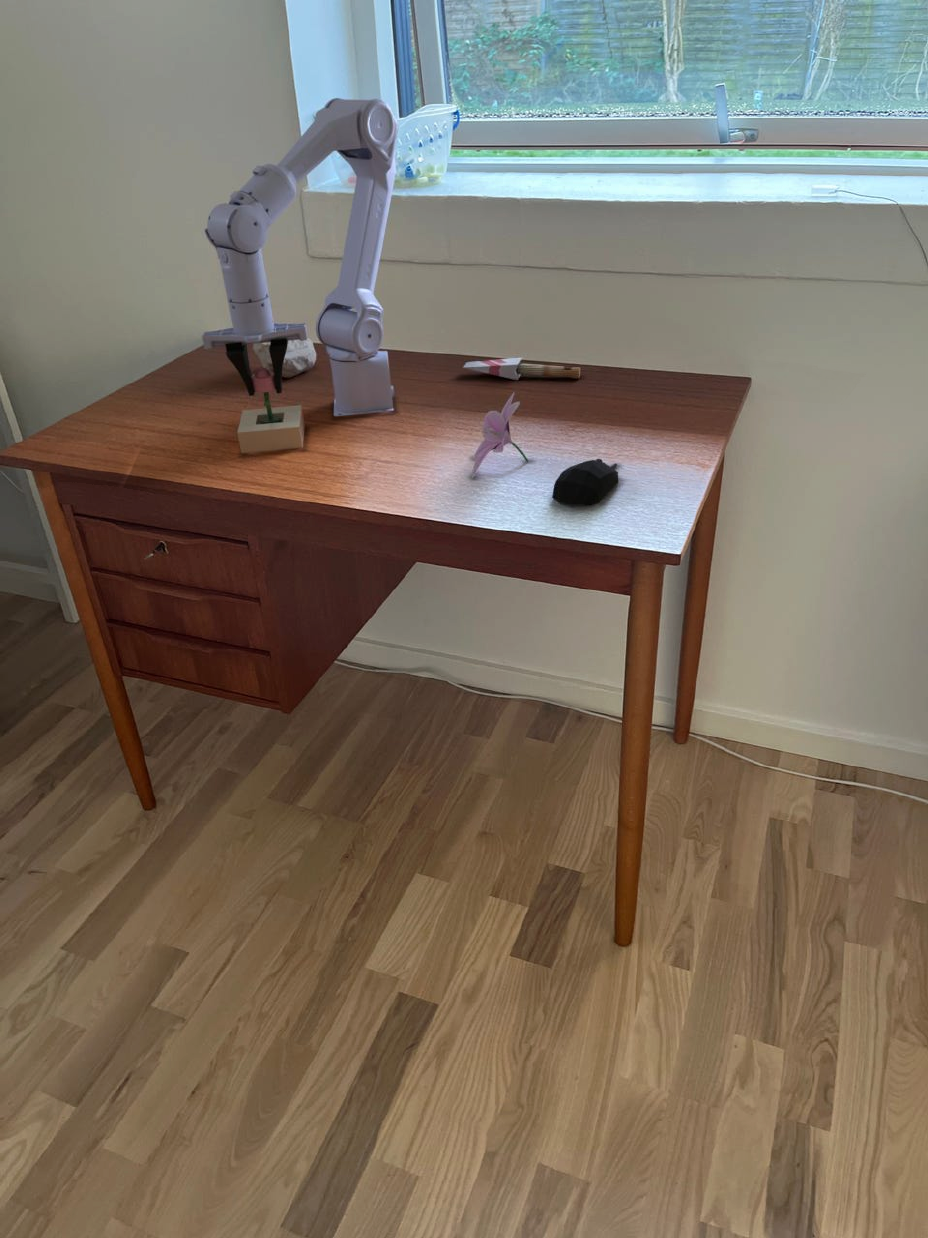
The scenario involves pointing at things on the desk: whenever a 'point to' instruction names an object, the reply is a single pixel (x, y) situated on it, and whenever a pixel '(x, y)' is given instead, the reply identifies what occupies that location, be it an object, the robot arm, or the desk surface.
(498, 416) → the lily
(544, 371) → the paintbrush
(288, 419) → the beige square socket block
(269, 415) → the flower
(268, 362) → the white rock
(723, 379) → the desk surface
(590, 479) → the gaming mouse
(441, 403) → the desk surface
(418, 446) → the desk surface
